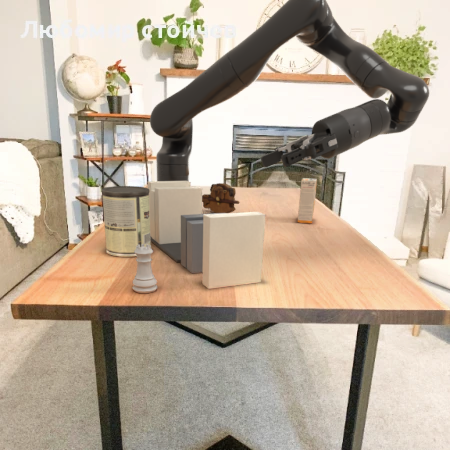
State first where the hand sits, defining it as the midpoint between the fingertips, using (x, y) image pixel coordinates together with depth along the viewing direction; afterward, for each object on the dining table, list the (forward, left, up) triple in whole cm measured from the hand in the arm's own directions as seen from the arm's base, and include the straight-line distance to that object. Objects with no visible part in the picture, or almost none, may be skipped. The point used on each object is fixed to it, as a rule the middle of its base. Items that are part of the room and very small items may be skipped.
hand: (272, 162), depth 84 cm
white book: (-4, -11, -22) cm, 24 cm away
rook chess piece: (-17, -21, -22) cm, 34 cm away
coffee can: (-33, 0, -22) cm, 39 cm away
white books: (-23, +10, -22) cm, 33 cm away
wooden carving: (-31, +55, -22) cm, 67 cm away
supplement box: (-2, +57, -22) cm, 61 cm away
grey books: (-11, -3, -22) cm, 25 cm away
